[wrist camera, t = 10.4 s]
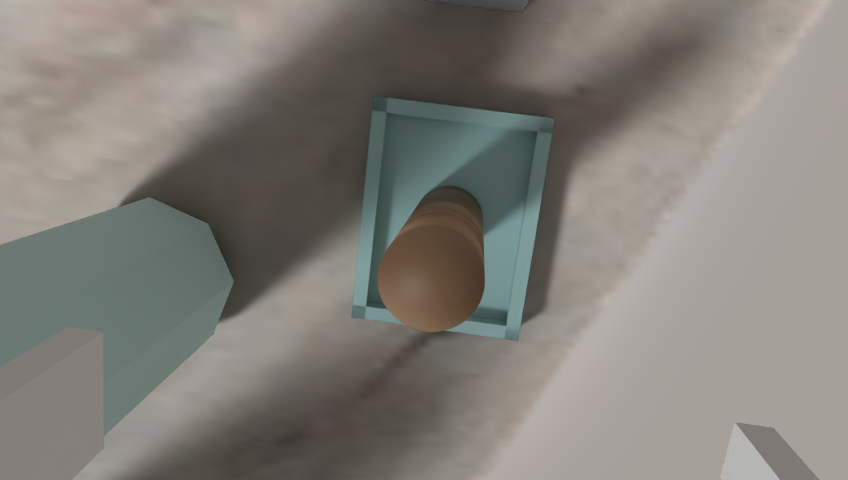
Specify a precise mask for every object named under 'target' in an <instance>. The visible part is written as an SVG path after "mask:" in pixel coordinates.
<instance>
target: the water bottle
mask: <svg viewBox="0 0 848 480" xmlns="http://www.w3.org/2000/svg"><path fill="white" fill-rule="evenodd" d="M233 283H234V280H233V278H232V276H231V274H230V271H229V269H228V267H227V265H226V262H225V260H224V258H223V256H222V254H221V251H220V249H219V247H218V245H217V242H216V240H215V238H214V236H213V233H212V231H211V229H210V227H209V224H207V223H205V222H203V221H201V220H199V219H196V218H194V217H192V216H190V215H188V214H186V213H183V212H181V211H179V210H177V209H175V208H172V207H170V206H168V205H166V204H164V203H161V202H159V201H157V200H155V199H153V198H150V197H148V198H145V199H142V200H139V201H136V202H133V203H130V204H127V205H123V206H120V207H117V208H114V209H111V210H108V211H105V212H102V213H98V214H95V215H92V216H89V217H86V218H83V219H80V220H77V221H73V222H70V223H67V224H64V225H61V226H58V227H55V228H52V229H48V230H45V231H42V232H39V233H36V234H33V235H30V236H27V237H23V238H20V239H17V240H14V241H11V242H8V243H5V244H2V245H0V367H2V366H4V365H5V364H7V363H9V362H10V361H12V360H14V359H15V358H17V357H19V356H20V355H22V354H24V353H25V352H27V351H29V350H30V349H32V348H34V347H35V346H37V345H39V344H40V343H42V342H44V341H45V340H47V339H49V338H50V337H52V336H54V335H55V334H57V333H59V332H60V331H62V330H64V329H65V328H67V327H72V328H79V329H86V330H93V331H100V332H103V402H104V435H105V434H107V433H108V432H109V431H110V430H111V429H112V428H113V427H114V426H115V425H116V424H117V423H118V422H119V421H121V420H122V419H123V418H124V417H125V416H126V415H127V414H128V413H129V412H130V411H131V410H132V409H133V408H135V407H136V406H137V405H138V404H139V403H140V402H141V401H142V400H143V399H144V398H145V397H146V396H147V395H149V394H150V393H151V392H152V391H153V390H154V389H155V388H156V387H157V386H158V385H159V384H160V383H161V382H163V381H164V380H165V379H166V378H167V377H168V376H169V375H170V374H171V373H172V372H173V371H174V370H175V369H177V368H178V367H179V366H180V365H181V364H182V363H183V362H184V361H185V360H186V359H187V358H188V357H189V356H191V355H192V354H193V353H194V352H195V351H196V350H197V349H198V348H199V347H200V346H201V345H202V344H203V343H205V342H206V341H207V340H208V339H209V338H210V337H211V336H212V335H213V334H214V331H215V328H216V326H217V323H218V321H219V318H220V316H221V313H222V311H223V308H224V306H225V303H226V301H227V298H228V296H229V293H230V291H231V288H232V286H233Z"/></svg>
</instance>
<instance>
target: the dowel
mask: <svg viewBox="0 0 848 480" xmlns="http://www.w3.org/2000/svg"><path fill="white" fill-rule="evenodd" d="M484 287H485V266H484V231H483V213H482V209H481V206H480V204H479V202H478V201H477V199H476V198H475V197H474V196H473V195H472V194H471V193H470V192H468V191H467V190H465V189H463V188H460V187H457V186H441V187H438V188H435V189H433V190H431V191H430V192H428V193H427V194H426V195H425V196H424V197H423V198H422V199H421V201H420V202H419V204H418V205H417V206H416V208H415V209H414V211H413V212H412V214H411V215H410V217H409V218H408V220H407V221H406V223H405V224H404V225H403V227H402V228H401V230H400V231H399V233H398V234H397V236H396V237H395V239H394V240H393V241H392V243H391V244H390V246H389V247H388V249H387V250H386V252H385V253H384V255H383V257H382V259H381V262H380V265H379V269H378V288H379V293H380V296H381V298H382V301H383V303H384V305H385V306H386V308H387V309H388V311H389V312H390V313H391V314H392V315H393V316H394V317H395V318H396V319H397V320H398V321H400V322H401V323H403V324H404V325H406V326H408V327H410V328H413V329H416V330H420V331H425V332H440V331H445V330H449V329H452V328H454V327H456V326H458V325H460V324H461V323H463V322H464V321H466V320H467V319H468V318H469V317H470V316H471V315H472V314H473V313H474V311H475V310H476V309H477V307H478V305H479V303H480V302H481V299H482V296H483V292H484Z"/></svg>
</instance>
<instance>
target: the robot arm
mask: <svg viewBox="0 0 848 480" xmlns="http://www.w3.org/2000/svg"><path fill="white" fill-rule="evenodd" d="M103 448H104V402H103V332H100V331H93V330H86V329H79V328H72V327H67V328H65V329H64V330H62V331H60V332H59V333H57V334H55V335H54V336H52V337H50V338H49V339H47V340H45V341H44V342H42V343H40V344H39V345H37V346H35V347H34V348H32V349H30V350H29V351H27V352H25V353H24V354H22V355H20V356H19V357H17V358H15V359H14V360H12V361H10V362H9V363H7V364H5V365H4V366H2V367H0V480H72V479H73V478H74V477H75V476H76V475H77V474H78V473H79V472H80V471H81V470H82V469H83V468H84V467H85V466H86V465H87V464H88V463H89V462H90V461H91V460H92V459H93V458H94V457H95V456H96V455H97V454H98V453H99V452H100V451H101V450H102V449H103ZM720 480H819V479H818V478H817V477H816V476H815V474H814V473H813V472H812V471H811V470H810V469H809V468H808V466H807V465H806V464H805V463H804V462H803V461H802V460H801V458H799V456H798V455H797V454H796V453H795V452H794V451H793V449H792V448H791V447H790V446H789V445H788V444H787V443H786V441H784V439H782V437H781V436H780V435H779V434H778V433H777V431H776V430H775V429H774V428H771V427H763V426H757V425H749V424H743V423H736V422H735V425H734V428H733V432H732V436H731V440H730V443H729V447H728V451H727V455H726V458H725V462H724V466H723V470H722V473H721V477H720Z"/></svg>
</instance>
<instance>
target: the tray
mask: <svg viewBox="0 0 848 480" xmlns="http://www.w3.org/2000/svg"><path fill="white" fill-rule="evenodd" d="M554 120H555V119H554V118H550V117H542V116H534V115H526V114H518V113H510V112H502V111H494V110H486V109H478V108H470V107H462V106H454V105H446V104H438V103H430V102H422V101H414V100H406V99H398V98H390V97H382V96H374V97H373V107H372V117H371V127H370V137H369V147H368V157H367V167H366V177H365V187H364V197H363V207H362V217H361V227H360V237H359V247H358V257H357V267H356V277H355V287H354V297H353V307H352V317H353V318H360V319H367V320H374V321H381V322H389V323H396V324H403V323H401V322H400V321H398V320H397V319H396V318H395V317H394V316H393V315H392V314H391V313H390V312H389V311H388V309H387V308H386V306H385V305H384V303H383V301H382V298H381V296H380V293H379V288H378V269H379V265H380V262H381V259H382V257H383V255H384V253H385V252H386V250H387V249H388V247H389V246H390V244H391V243H392V241H393V240H394V239H395V237H396V236H397V234H398V233H399V231H400V230H401V228H402V227H403V225H404V224H405V223H406V221H407V220H408V218H409V217H410V215H411V214H412V212H413V211H414V209H415V208H416V206H417V205H418V204H419V202H420V201H421V199H422V198H423V197H424V196H425V195H426V194H427V193H428V192H430V191H431V190H433V189H435V188H438V187H441V186H457V187H460V188H463V189H465V190H467V191H468V192H470V193H471V194H472V195H473V196H474V197H475V198H476V199H477V201H478V202H479V204H480V206H481V209H482V213H483V231H484V266H485V287H484V292H483V296H482V299H481V302H480V303H479V305H478V307H477V309H476V310H475V311H474V313H473V314H472V315H471V316H470V317H469V318H468V319H467V320H466V321H464V322H463V323H461V324H460V325H458V326H456V327H454V328H452V329H449V330H445V331H452V332H460V333H467V334H474V335H481V336H488V337H495V338H502V339H509V340H516V341H518V338H519V332H520V326H521V320H522V314H523V308H524V302H525V296H526V290H527V283H528V277H529V271H530V265H531V259H532V253H533V247H534V241H535V235H536V229H537V223H538V217H539V211H540V205H541V199H542V193H543V187H544V181H545V175H546V169H547V163H548V157H549V151H550V145H551V139H552V133H553V127H554ZM403 325H404V324H403Z"/></svg>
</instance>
